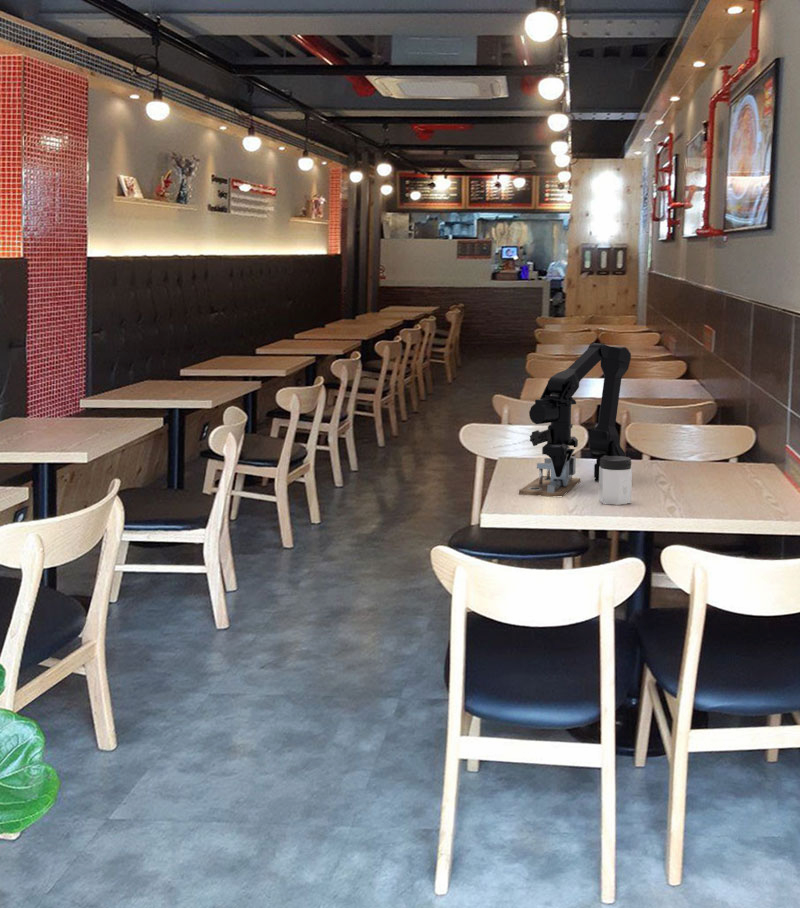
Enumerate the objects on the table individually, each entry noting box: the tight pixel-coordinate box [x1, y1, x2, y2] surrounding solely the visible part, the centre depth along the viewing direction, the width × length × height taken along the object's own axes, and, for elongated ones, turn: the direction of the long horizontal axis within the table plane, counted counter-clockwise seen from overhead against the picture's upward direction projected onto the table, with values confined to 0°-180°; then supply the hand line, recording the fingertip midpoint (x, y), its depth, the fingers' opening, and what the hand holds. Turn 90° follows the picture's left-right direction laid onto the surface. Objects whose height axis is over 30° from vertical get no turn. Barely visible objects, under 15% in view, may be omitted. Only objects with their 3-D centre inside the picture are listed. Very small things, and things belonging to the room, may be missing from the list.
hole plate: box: [518, 475, 581, 497], centre depth 333 cm, size 12×25×1 cm, turn 159°
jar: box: [597, 456, 633, 506], centre depth 312 cm, size 9×8×12 cm
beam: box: [544, 455, 577, 493], centre depth 331 cm, size 9×22×7 cm, turn 159°
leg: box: [536, 460, 569, 487], centre depth 331 cm, size 9×4×7 cm, turn 69°
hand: (559, 475), depth 330 cm, fingers closed on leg, 4 cm apart
